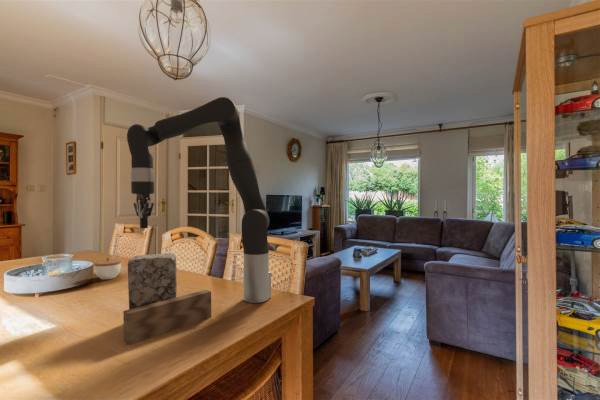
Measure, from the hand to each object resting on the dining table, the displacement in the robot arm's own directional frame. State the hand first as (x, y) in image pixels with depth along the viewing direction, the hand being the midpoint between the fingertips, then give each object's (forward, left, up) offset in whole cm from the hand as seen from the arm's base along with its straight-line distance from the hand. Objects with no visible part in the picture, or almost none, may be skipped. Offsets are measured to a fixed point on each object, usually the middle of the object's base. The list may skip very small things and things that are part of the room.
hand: (143, 228), depth 109 cm
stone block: (+5, +21, -27) cm, 34 cm away
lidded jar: (-1, -46, -27) cm, 53 cm away
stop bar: (+4, +30, -27) cm, 41 cm away
